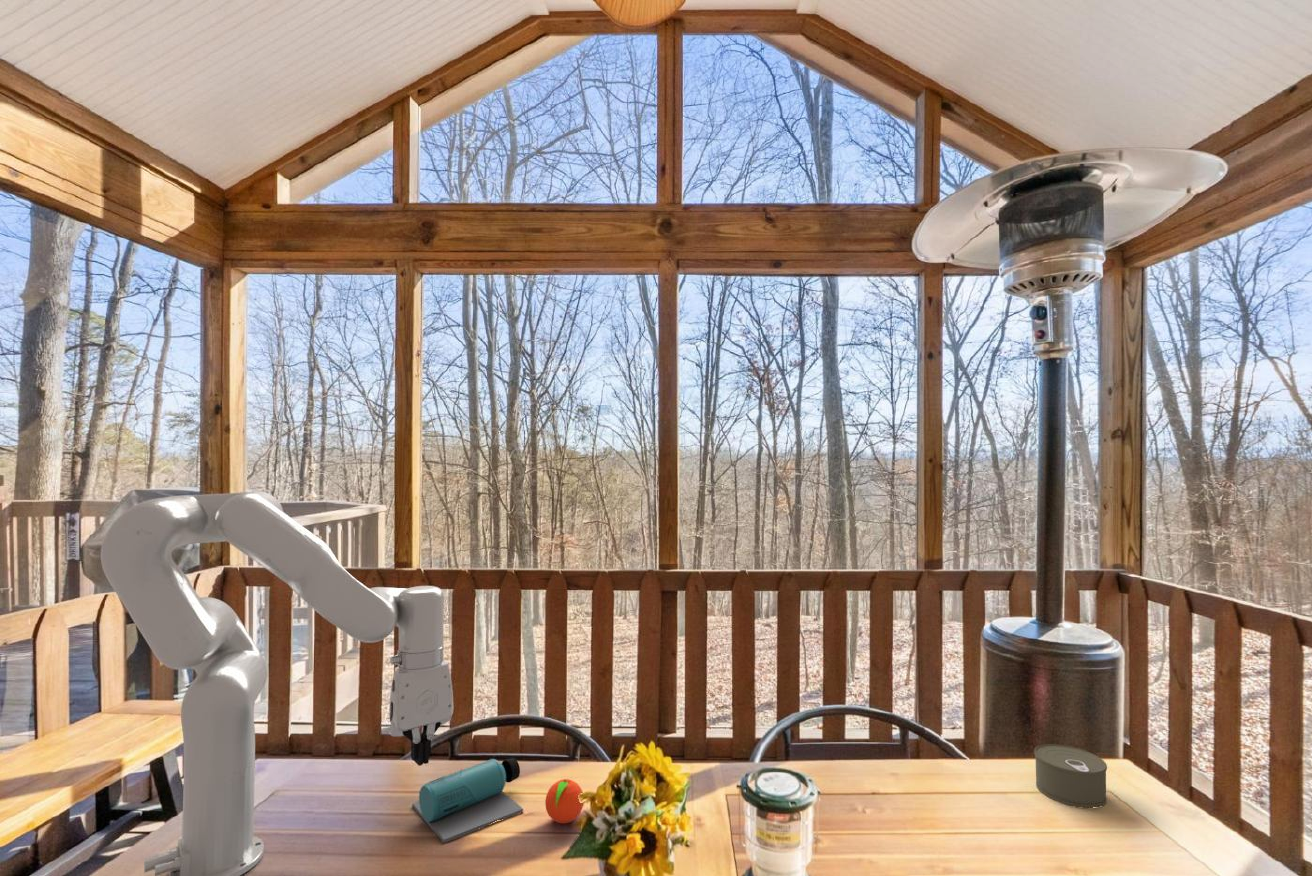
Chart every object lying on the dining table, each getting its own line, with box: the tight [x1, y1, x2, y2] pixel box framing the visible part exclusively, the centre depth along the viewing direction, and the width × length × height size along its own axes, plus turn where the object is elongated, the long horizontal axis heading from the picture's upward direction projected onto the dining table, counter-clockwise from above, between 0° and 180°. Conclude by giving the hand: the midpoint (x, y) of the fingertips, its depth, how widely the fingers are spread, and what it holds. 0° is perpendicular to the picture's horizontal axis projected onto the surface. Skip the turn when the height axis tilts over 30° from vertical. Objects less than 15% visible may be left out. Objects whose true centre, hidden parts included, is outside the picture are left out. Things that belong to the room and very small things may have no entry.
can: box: [1033, 743, 1108, 809], centre depth 126 cm, size 12×12×7 cm
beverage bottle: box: [418, 757, 521, 822], centre depth 120 cm, size 6×7×20 cm
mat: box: [411, 790, 524, 844], centre depth 119 cm, size 15×15×1 cm
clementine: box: [544, 778, 585, 824], centre depth 115 cm, size 8×7×7 cm
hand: (420, 761), depth 114 cm, fingers closed
